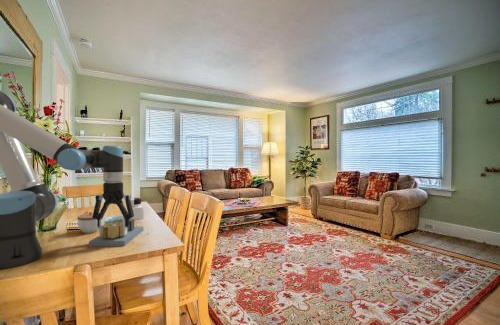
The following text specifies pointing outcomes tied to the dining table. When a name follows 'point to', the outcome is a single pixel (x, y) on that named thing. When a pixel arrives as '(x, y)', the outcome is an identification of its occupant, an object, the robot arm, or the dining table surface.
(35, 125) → the robot arm
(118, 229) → the bronze gear
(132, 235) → the gear board
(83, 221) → the lidded jar
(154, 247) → the dining table surface
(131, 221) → the dark gear
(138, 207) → the medicine bottle
